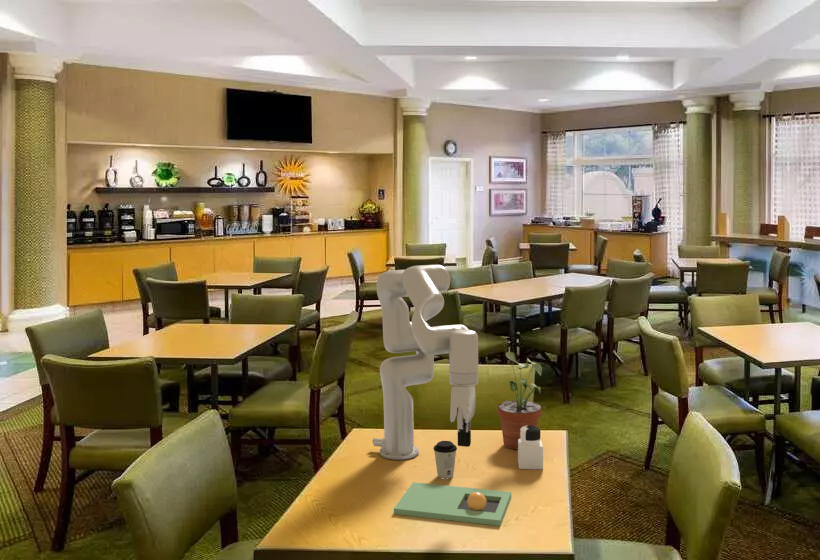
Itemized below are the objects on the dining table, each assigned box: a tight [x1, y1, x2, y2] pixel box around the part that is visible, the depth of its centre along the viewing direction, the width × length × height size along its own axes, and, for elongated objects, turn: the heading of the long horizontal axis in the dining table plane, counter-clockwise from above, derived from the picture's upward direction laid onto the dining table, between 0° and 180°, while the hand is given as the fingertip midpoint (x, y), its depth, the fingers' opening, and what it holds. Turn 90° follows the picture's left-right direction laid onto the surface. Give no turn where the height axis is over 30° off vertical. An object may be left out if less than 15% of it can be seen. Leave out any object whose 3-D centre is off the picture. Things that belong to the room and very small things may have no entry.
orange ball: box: [467, 492, 487, 511], centre depth 188 cm, size 5×5×5 cm
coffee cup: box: [433, 440, 458, 480], centre depth 213 cm, size 7×7×10 cm
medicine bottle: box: [517, 425, 544, 470], centre depth 220 cm, size 7×7×12 cm
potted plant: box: [497, 351, 543, 450], centre depth 236 cm, size 16×15×35 cm
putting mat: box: [393, 481, 512, 527], centre depth 193 cm, size 28×18×2 cm, turn 73°
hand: (464, 445), depth 190 cm, fingers closed
